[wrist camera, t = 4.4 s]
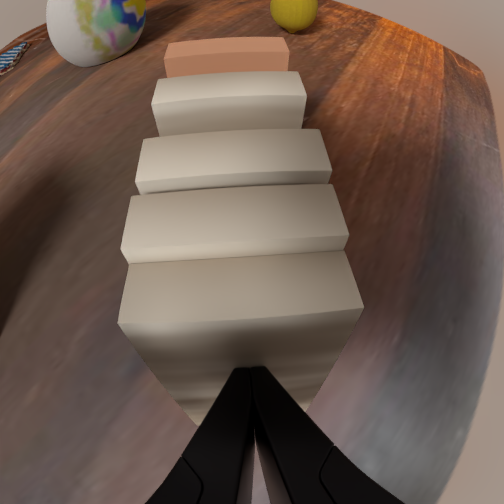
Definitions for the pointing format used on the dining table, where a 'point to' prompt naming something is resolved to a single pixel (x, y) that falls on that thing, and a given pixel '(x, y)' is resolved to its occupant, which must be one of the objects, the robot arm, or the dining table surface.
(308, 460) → the robot arm
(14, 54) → the woven mat
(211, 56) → the domino
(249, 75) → the domino
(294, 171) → the domino
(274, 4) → the lemon
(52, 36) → the decorative egg
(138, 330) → the domino
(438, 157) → the dining table surface
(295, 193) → the domino
